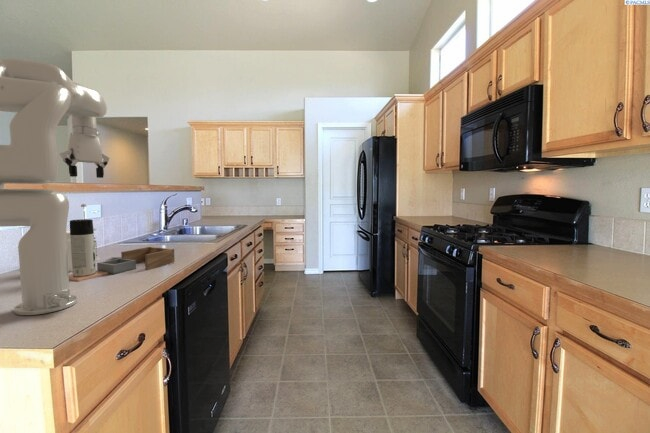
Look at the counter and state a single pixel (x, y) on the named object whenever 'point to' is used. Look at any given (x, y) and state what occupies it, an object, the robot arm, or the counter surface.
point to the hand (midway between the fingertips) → (87, 177)
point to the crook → (113, 258)
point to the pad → (97, 273)
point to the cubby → (150, 256)
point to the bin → (116, 266)
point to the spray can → (82, 247)
